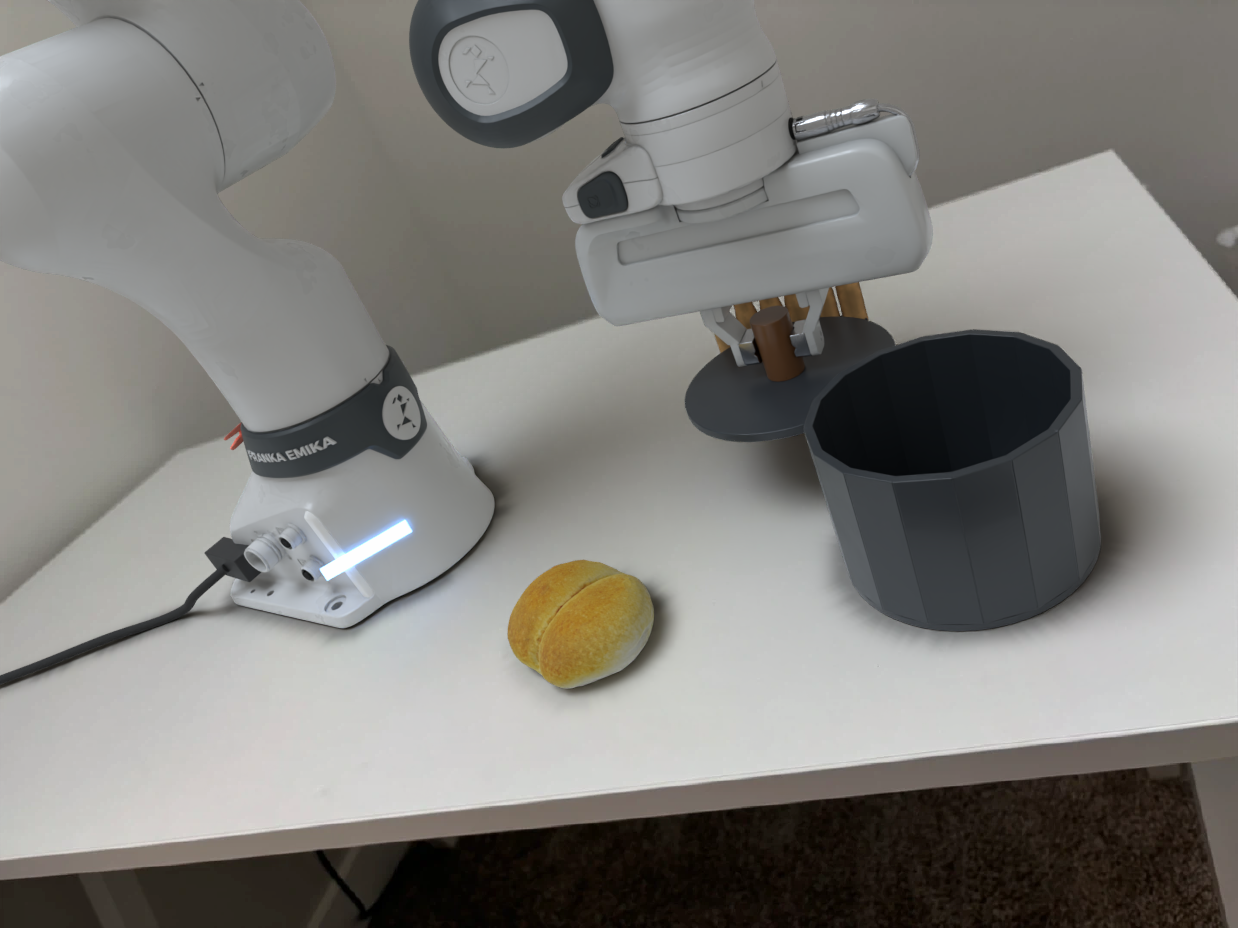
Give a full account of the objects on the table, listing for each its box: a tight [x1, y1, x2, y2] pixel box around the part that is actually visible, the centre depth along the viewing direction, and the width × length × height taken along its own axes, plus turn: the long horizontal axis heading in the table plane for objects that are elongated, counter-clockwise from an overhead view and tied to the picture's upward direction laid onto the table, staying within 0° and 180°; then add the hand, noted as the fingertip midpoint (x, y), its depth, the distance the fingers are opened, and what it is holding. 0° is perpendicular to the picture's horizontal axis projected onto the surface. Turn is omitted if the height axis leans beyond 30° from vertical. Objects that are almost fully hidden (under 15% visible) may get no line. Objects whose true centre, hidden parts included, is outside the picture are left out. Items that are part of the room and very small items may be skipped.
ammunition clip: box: [713, 282, 870, 354], centre depth 67 cm, size 11×2×12 cm, turn 89°
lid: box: [684, 305, 897, 443], centre depth 59 cm, size 13×13×5 cm
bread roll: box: [507, 559, 655, 690], centre depth 55 cm, size 8×9×4 cm
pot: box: [803, 328, 1102, 632], centre depth 49 cm, size 13×13×10 cm
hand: (781, 356), depth 59 cm, fingers closed on lid, 2 cm apart
